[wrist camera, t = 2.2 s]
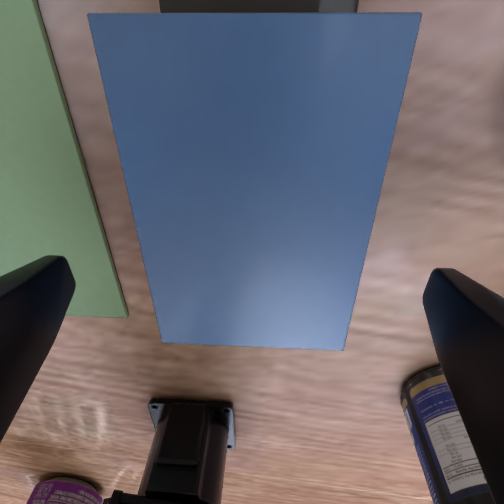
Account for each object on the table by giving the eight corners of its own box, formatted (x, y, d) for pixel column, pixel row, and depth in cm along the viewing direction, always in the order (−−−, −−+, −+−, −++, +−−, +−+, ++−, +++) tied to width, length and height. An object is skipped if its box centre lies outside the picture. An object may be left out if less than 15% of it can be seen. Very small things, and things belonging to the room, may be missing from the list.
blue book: (331, 294, 15) (343, 351, 13) (180, 289, 16) (161, 343, 13) (382, 13, 9) (423, 12, 7) (136, 14, 10) (85, 12, 7)
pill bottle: (465, 417, 25) (570, 640, 16) (385, 407, 25) (447, 627, 16) (511, 366, 22) (679, 615, 13) (418, 354, 22) (522, 597, 13)
